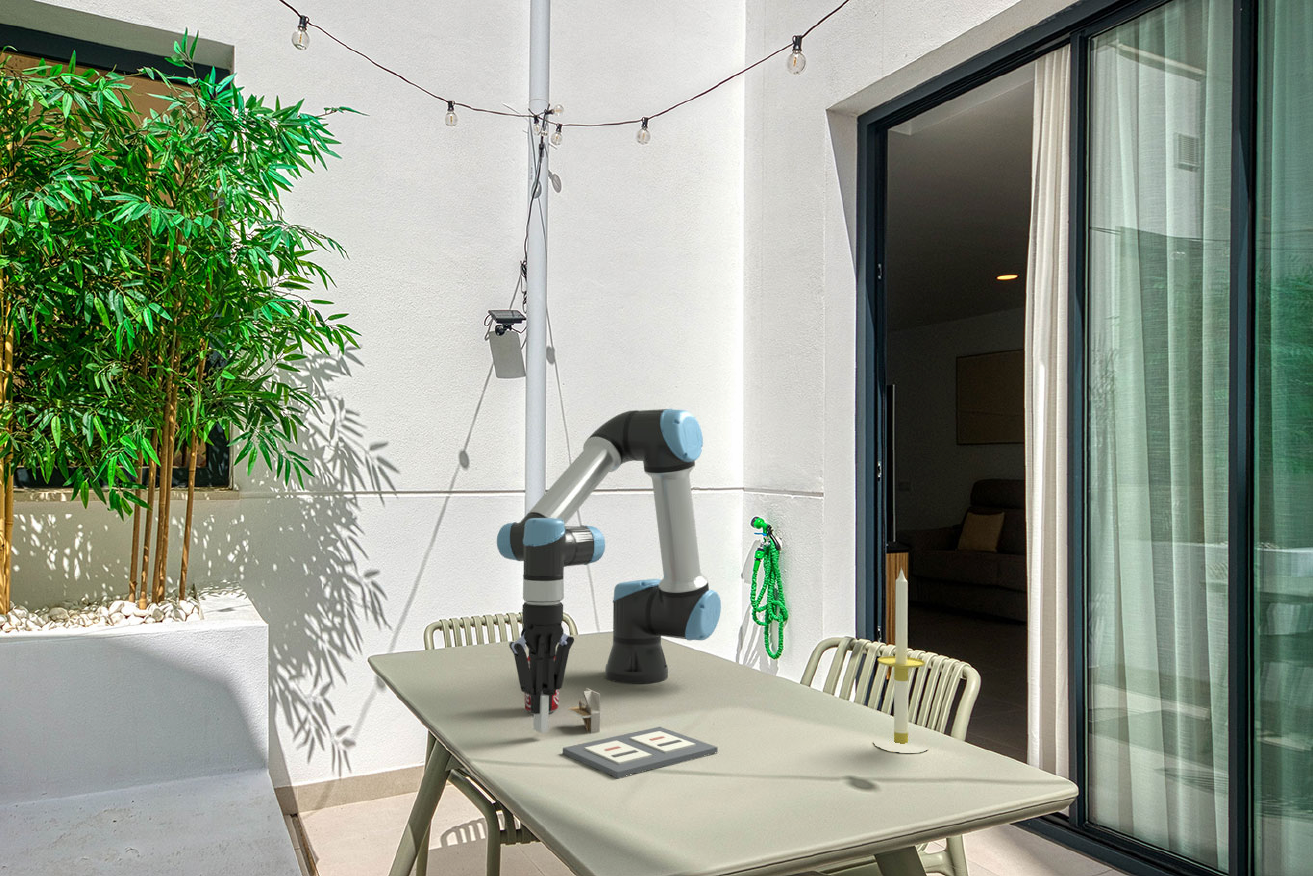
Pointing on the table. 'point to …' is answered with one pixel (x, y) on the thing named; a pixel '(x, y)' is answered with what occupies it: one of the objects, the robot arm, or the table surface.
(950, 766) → the table surface
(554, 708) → the soda can
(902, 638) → the candle
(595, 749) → the label board
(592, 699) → the architectural model
